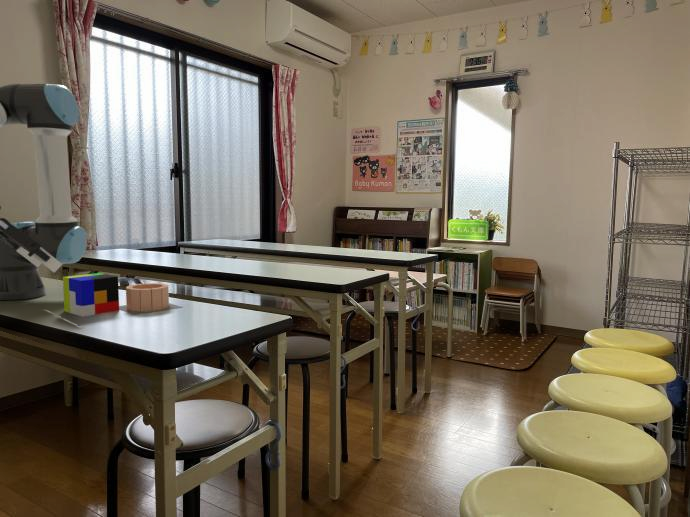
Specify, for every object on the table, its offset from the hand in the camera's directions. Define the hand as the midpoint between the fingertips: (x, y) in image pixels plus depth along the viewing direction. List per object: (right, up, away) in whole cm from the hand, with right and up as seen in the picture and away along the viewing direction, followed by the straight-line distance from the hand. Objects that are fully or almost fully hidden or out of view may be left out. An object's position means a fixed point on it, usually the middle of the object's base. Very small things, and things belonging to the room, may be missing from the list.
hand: (49, 265), depth 129 cm
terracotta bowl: (+20, -12, +14) cm, 27 cm away
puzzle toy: (+6, -13, +9) cm, 17 cm away
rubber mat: (+20, -12, +14) cm, 27 cm away
